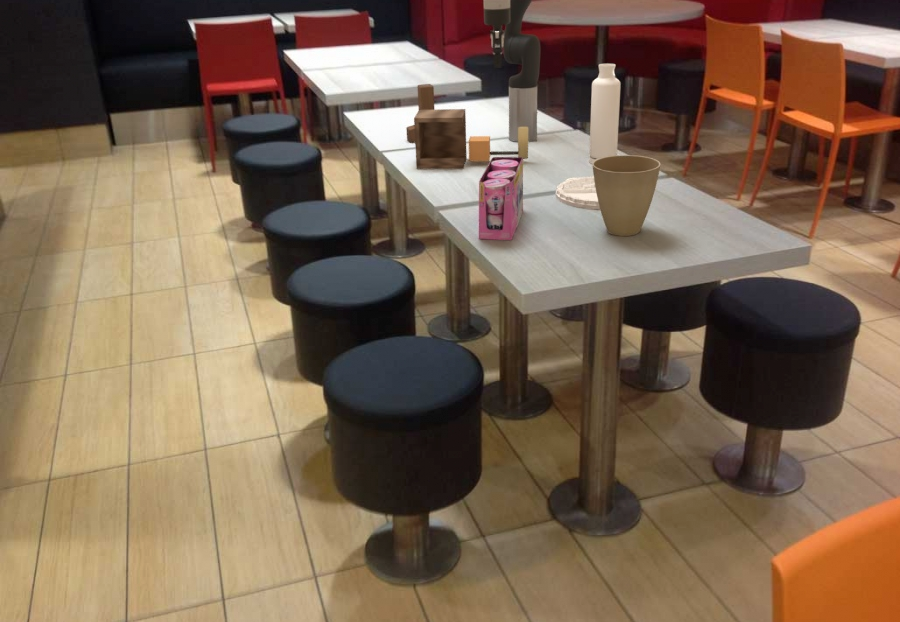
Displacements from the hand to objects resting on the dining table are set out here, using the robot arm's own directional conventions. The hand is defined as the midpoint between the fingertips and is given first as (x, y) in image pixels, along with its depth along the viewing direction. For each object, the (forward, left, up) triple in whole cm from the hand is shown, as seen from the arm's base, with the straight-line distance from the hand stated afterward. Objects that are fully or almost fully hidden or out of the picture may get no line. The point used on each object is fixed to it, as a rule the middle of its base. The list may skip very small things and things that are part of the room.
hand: (498, 65), depth 243 cm
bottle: (-31, +5, -28) cm, 42 cm away
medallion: (-27, +37, -28) cm, 54 cm away
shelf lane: (+17, +5, -28) cm, 33 cm away
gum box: (-3, +61, -28) cm, 67 cm away
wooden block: (+27, -25, -28) cm, 46 cm away
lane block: (0, +5, -26) cm, 27 cm away
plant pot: (-31, +66, -28) cm, 78 cm away
